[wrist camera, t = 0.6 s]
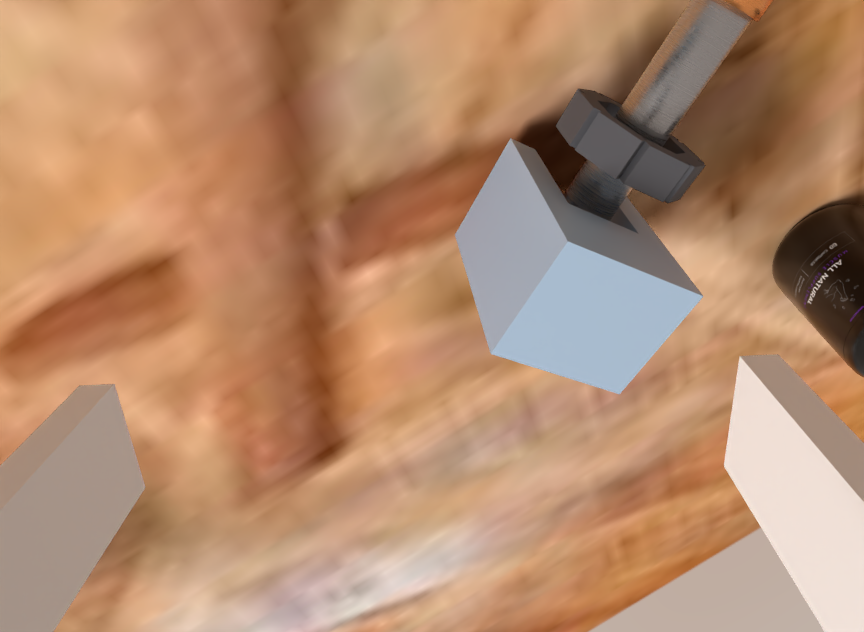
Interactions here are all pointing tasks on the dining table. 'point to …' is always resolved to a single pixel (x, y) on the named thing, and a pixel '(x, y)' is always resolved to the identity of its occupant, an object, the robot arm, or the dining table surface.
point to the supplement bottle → (828, 277)
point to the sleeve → (568, 277)
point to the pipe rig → (669, 89)
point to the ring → (627, 148)
